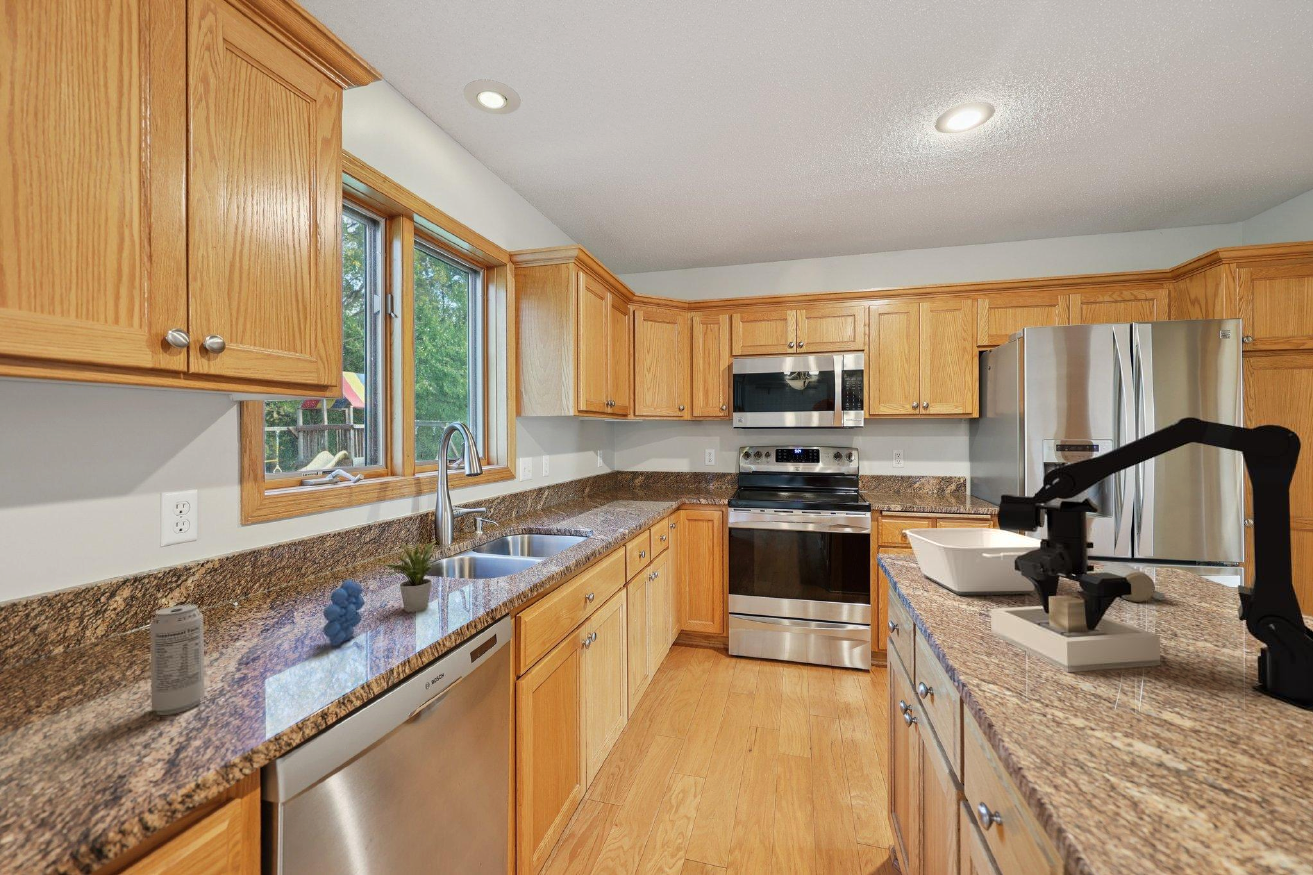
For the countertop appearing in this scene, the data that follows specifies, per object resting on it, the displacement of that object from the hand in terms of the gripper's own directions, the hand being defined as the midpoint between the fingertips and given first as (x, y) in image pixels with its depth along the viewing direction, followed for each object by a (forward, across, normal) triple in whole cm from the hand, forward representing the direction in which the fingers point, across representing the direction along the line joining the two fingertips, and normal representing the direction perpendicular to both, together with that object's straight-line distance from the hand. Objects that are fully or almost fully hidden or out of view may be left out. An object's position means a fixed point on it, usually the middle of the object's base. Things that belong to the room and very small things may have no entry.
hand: (1068, 621), depth 96 cm
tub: (+5, -40, +12) cm, 42 cm away
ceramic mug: (+5, -24, +40) cm, 47 cm away
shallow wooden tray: (+5, 0, 0) cm, 5 cm away
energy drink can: (+5, -1, -149) cm, 149 cm away
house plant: (+5, -47, -129) cm, 137 cm away
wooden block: (+4, 0, 0) cm, 4 cm away
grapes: (+5, -26, -137) cm, 140 cm away
